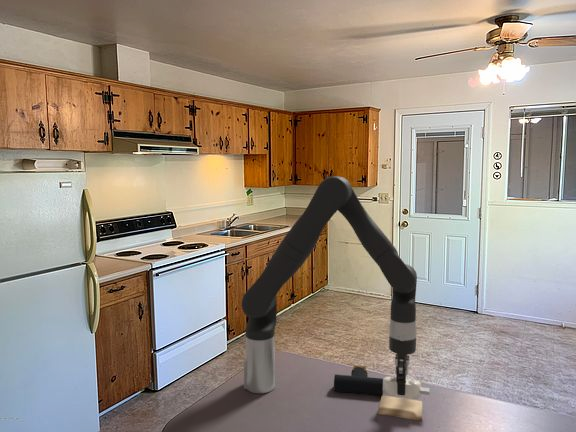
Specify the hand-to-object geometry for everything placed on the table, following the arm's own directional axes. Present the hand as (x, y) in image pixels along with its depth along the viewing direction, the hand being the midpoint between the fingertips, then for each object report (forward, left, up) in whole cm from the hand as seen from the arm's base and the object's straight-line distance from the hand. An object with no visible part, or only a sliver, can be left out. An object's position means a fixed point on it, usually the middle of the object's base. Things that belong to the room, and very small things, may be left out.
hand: (401, 391), depth 131 cm
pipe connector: (-14, +10, -6) cm, 18 cm away
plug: (+1, 0, -1) cm, 2 cm away
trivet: (0, 0, -5) cm, 5 cm away
